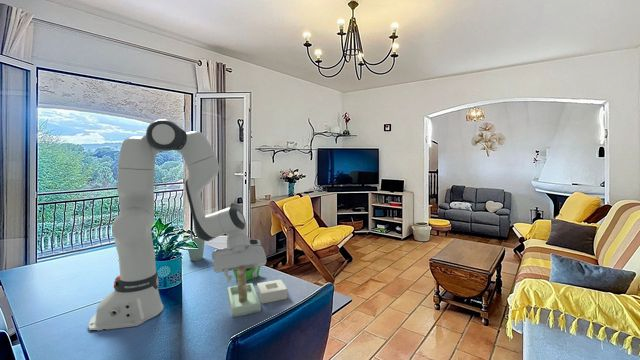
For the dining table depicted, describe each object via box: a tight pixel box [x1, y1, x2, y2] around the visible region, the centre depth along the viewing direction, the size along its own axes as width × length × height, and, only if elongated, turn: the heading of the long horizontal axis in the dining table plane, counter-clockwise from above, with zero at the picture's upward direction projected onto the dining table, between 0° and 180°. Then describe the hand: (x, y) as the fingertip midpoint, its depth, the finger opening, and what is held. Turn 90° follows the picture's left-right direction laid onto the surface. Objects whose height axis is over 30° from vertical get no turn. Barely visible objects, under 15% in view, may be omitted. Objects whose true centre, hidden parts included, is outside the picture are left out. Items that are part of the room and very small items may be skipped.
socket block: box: [256, 278, 288, 304], centre depth 121 cm, size 10×10×4 cm
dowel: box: [237, 266, 247, 302], centre depth 115 cm, size 3×3×13 cm
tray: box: [227, 282, 262, 318], centre depth 116 cm, size 10×19×3 cm, turn 21°
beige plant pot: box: [187, 238, 206, 262], centre depth 165 cm, size 11×11×15 cm
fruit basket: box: [232, 266, 262, 281], centre depth 139 cm, size 11×9×11 cm
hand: (242, 278), depth 114 cm, fingers open, 8 cm apart
